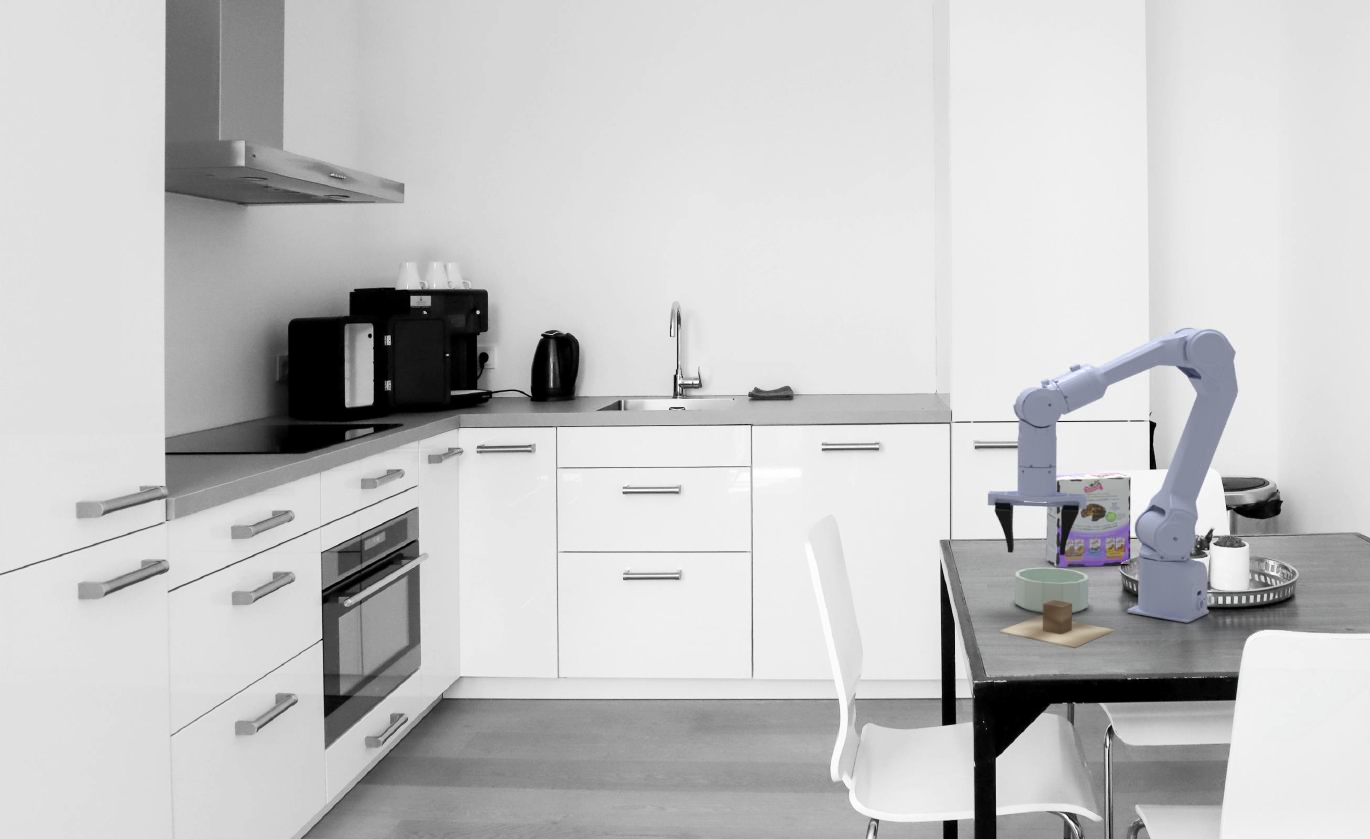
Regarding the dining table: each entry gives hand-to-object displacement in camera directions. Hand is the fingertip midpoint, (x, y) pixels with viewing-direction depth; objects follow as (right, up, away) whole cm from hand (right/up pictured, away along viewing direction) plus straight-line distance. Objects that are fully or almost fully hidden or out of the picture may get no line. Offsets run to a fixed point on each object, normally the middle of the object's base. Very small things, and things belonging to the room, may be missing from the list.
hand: (1036, 552), depth 181 cm
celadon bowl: (+4, -9, +6) cm, 12 cm away
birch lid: (0, -11, -9) cm, 14 cm away
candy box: (+20, -6, +35) cm, 41 cm away
